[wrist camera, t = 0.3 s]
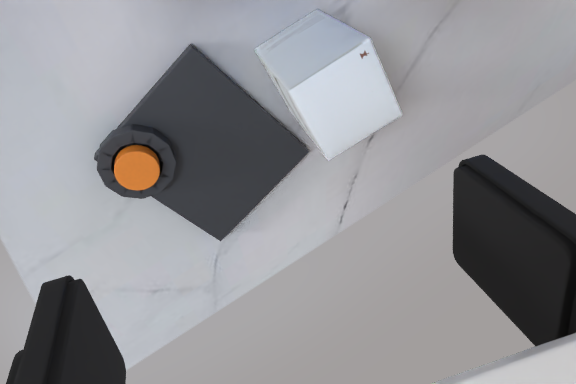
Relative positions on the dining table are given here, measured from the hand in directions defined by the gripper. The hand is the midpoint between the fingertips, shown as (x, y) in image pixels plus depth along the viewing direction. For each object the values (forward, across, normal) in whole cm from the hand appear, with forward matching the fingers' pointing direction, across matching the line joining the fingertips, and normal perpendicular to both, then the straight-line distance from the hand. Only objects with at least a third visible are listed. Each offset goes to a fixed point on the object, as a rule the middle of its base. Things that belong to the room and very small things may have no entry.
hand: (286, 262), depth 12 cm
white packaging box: (+36, -10, +6) cm, 38 cm away
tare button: (+34, +8, +11) cm, 36 cm away
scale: (+36, +1, +12) cm, 39 cm away
